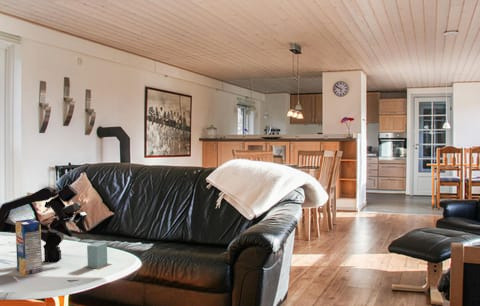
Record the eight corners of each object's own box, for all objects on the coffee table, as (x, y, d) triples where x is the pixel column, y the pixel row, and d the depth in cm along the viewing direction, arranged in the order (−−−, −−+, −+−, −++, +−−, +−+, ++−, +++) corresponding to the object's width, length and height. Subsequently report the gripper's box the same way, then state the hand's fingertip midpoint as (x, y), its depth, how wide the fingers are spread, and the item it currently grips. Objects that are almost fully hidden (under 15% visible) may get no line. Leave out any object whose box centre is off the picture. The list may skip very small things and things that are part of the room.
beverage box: (25, 276, 204) (23, 224, 203) (17, 270, 212) (15, 220, 211) (42, 272, 208) (40, 222, 207) (33, 267, 216) (31, 218, 215)
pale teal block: (87, 266, 214) (87, 245, 214) (97, 263, 220) (97, 242, 220) (97, 268, 212) (97, 246, 212) (107, 264, 218) (106, 243, 217)
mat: (61, 277, 202) (61, 276, 202) (85, 272, 208) (85, 271, 208) (69, 283, 194) (69, 282, 194) (93, 278, 200) (93, 277, 200)
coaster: (82, 268, 214) (82, 267, 214) (96, 263, 222) (96, 262, 222) (98, 270, 210) (98, 269, 210) (112, 265, 218) (112, 264, 218)
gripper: (53, 200, 214) (73, 226, 210) (83, 194, 231) (102, 219, 227) (40, 216, 218) (60, 243, 214) (71, 210, 235) (89, 234, 231)
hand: (78, 234), depth 221 cm, fingers open, 9 cm apart
